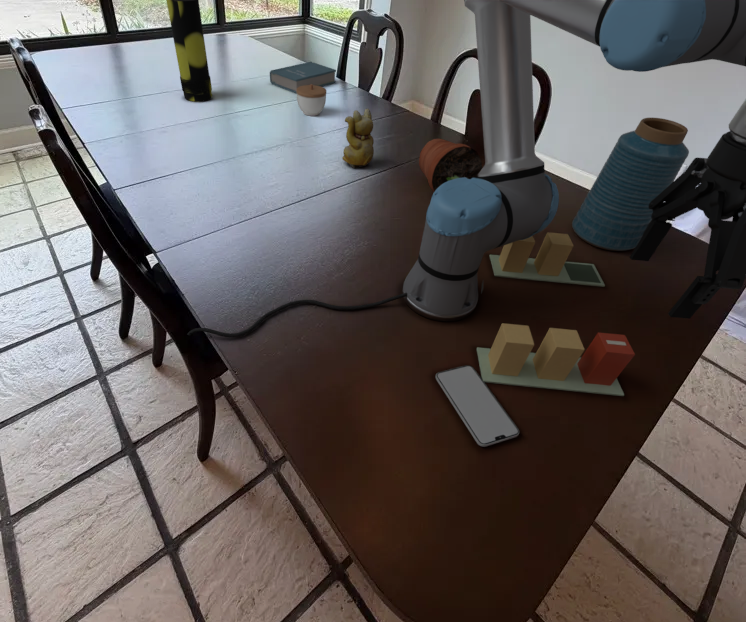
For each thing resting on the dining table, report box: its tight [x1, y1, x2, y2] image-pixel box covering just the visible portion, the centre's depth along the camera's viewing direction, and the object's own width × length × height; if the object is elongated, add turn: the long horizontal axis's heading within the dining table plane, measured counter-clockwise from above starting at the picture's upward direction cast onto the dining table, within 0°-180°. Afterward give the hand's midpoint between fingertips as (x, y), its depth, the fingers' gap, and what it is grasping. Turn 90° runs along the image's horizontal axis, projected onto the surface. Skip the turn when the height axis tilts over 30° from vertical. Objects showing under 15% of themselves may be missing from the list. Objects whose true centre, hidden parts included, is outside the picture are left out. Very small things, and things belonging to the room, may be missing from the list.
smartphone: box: [435, 364, 520, 448], centre depth 72 cm, size 7×1×15 cm
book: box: [269, 61, 337, 95], centre depth 183 cm, size 23×16×5 cm
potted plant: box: [418, 137, 483, 193], centre depth 113 cm, size 16×15×35 cm
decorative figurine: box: [342, 108, 375, 169], centre depth 128 cm, size 10×8×15 cm
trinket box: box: [296, 84, 327, 117], centre depth 158 cm, size 11×11×9 cm
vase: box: [571, 117, 690, 252], centre depth 102 cm, size 16×16×27 cm
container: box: [166, 0, 213, 103], centre depth 156 cm, size 11×11×30 cm
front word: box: [476, 322, 625, 397], centre depth 75 cm, size 24×8×8 cm, turn 85°
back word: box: [489, 232, 606, 288], centre depth 96 cm, size 24×8×8 cm, turn 85°
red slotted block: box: [577, 332, 636, 386], centre depth 74 cm, size 4×4×8 cm
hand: (657, 285), depth 66 cm, fingers open, 13 cm apart
